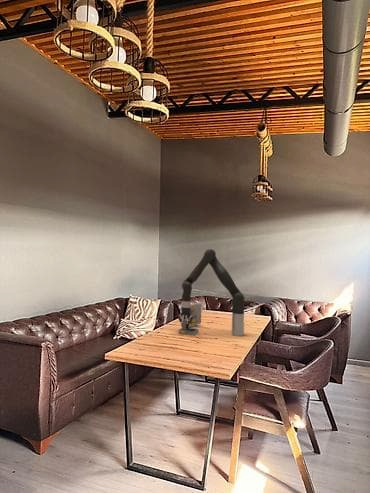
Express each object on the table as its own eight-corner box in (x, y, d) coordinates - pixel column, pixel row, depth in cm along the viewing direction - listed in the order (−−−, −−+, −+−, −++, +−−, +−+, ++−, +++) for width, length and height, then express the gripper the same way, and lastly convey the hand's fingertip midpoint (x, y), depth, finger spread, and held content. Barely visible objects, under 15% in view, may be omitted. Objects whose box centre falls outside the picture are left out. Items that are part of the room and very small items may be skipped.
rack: (198, 333, 314) (198, 329, 314) (193, 335, 305) (193, 331, 305) (183, 331, 319) (183, 327, 319) (178, 333, 310) (178, 329, 310)
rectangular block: (188, 329, 315) (188, 321, 315) (185, 331, 310) (185, 322, 310) (184, 329, 316) (185, 320, 316) (181, 330, 311) (182, 321, 311)
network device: (195, 324, 347) (195, 302, 347) (203, 326, 342) (204, 303, 342) (178, 329, 326) (179, 305, 326) (187, 330, 321) (188, 306, 321)
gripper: (195, 306, 314) (195, 328, 314) (179, 305, 319) (179, 326, 319) (192, 308, 307) (191, 329, 307) (176, 306, 312) (175, 327, 312)
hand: (185, 327), depth 313 cm, fingers closed on rectangular block, 3 cm apart
